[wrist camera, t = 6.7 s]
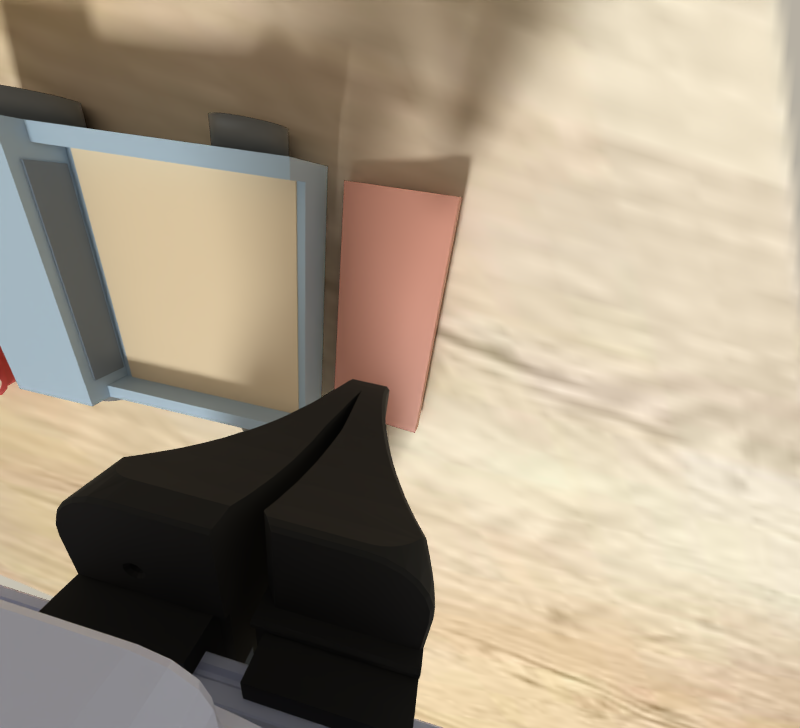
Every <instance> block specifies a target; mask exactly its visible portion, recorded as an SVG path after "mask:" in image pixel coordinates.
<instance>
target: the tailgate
mask: <svg viewBox="0 0 800 728" xmlns="http://www.w3.org/2000/svg"><path fill="white" fill-rule="evenodd" d="M461 200H462V197H456V196H449V195H442V194H435V193H428V192H421V191H414V190H407V189H401V188H394V187H387V186H380V185H373V184H366V183H359V182H352V181H345V180H344V198H343V219H342V240H341V260H340V281H339V302H338V323H337V344H336V365H335V386H334V390H335V389H336V388H338V387H339V386H341V385H343V384H344V383H346V382H348V381H349V380H351V379H355V380H360V381H364V382H369V383H373V384H378V385H383V386H387V387H388V389H389V390H390V391H389V397H388V404H387V411H386V418H385V420H386V424H387V425H391V426H394V427H397V428H400V429H404V430H407V431H410V432H414V433H415V431H416V429H417V427H418V423H419V418H420V413H421V407H422V402H423V397H424V392H425V387H426V382H427V376H428V371H429V366H430V361H431V356H432V350H433V345H434V340H435V335H436V330H437V325H438V319H439V314H440V309H441V304H442V299H443V293H444V288H445V283H446V278H447V273H448V268H449V262H450V257H451V252H452V247H453V242H454V236H455V231H456V226H457V221H458V216H459V211H460V205H461Z"/></svg>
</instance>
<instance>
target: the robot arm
mask: <svg viewBox="0 0 800 728" xmlns="http://www.w3.org/2000/svg"><path fill="white" fill-rule="evenodd" d="M389 391H390V390H389V389H388V387H387V386H383V385H378V384H373V383H369V382H364V381H360V380H355V379H351V380H349V381H348V382H346V383H344V384H343V385H341V386H339V387H338V388H336V389H335V390H333V391H331V392H330V393H328V394H326V395H324V396H323V397H321V398H319V399H318V400H316V401H314V402H312V403H310V404H308V405H306V406H304V407H302V408H300V409H298V410H296V411H294V412H292V413H290V414H288V415H286V416H284V417H282V418H279V419H277V420H275V421H272V422H269V423H267V424H264V425H262V426H259V427H256V428H253V429H250V430H247V431H244V432H241V433H237V434H234V435H231V436H228V437H225V438H221V439H217V440H213V441H209V442H205V443H201V444H197V445H192V446H188V447H183V448H178V449H173V450H167V451H161V452H155V453H149V454H143V455H136V456H129V457H123V458H122V459H120V460H119V461H118V462H116V463H115V464H113V465H112V466H111V467H109V468H108V469H107V470H105V471H104V472H102V473H101V474H100V475H98V476H97V477H96V478H94V479H93V480H92V481H90V482H89V483H87V484H86V485H85V486H83V487H82V488H81V489H79V490H78V491H76V492H75V493H74V494H72V495H71V496H70V497H68V498H67V499H66V500H64V501H63V502H62V503H61V505H60V506H59V508H58V509H57V514H56V526H57V529H58V532H59V535H60V537H61V540H62V542H63V544H64V546H65V548H66V550H67V552H68V554H69V556H70V558H71V560H72V562H73V564H74V566H75V568H76V570H77V572H78V575H77V576H76V577H75V578H73V579H72V580H71V581H70V582H69V583H68V584H67V585H66V586H65V587H64V588H63V589H62V590H61V591H60V592H59V593H58V594H57V595H55V596H54V597H53V598H52V599H51V600H50V601H49V600H46V599H42V598H39V597H36V596H33V595H30V594H27V593H24V592H21V591H18V590H15V589H12V588H9V587H5V586H2V585H0V728H442V727H439V726H436V725H433V724H430V723H427V722H424V721H421V720H418V719H414V715H415V705H416V696H417V687H418V679H419V677H420V673H421V667H422V657H423V647H424V644H425V641H426V639H427V636H428V633H429V630H430V627H431V624H432V621H433V617H434V610H435V592H434V581H433V573H432V567H431V561H430V555H429V550H428V545H427V540H426V537H425V535H424V534H423V532H422V530H421V528H420V526H419V525H418V523H417V521H416V519H415V517H414V515H413V513H412V511H411V509H410V507H409V505H408V502H407V500H406V498H405V496H404V493H403V490H402V488H401V485H400V483H399V480H398V477H397V475H396V471H395V468H394V465H393V461H392V457H391V453H390V449H389V444H388V438H387V432H386V420H385V418H386V411H387V404H388V397H389Z"/></svg>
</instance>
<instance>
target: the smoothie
mask: <svg viewBox="0 0 800 728" xmlns="http://www.w3.org/2000/svg"><path fill="white" fill-rule="evenodd" d="M15 381H16V379H15V377H14V375H13V373H12V371H11V368H10V366H9V364H8V362H7V360H6V357H5V355H4V353H3V351H2V349H1V346H0V395H2V394H3V393H4V392H5V390H6V389H7V386H8V385H10V384H12V383H13V382H15Z"/></svg>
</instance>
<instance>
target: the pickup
mask: <svg viewBox="0 0 800 728" xmlns="http://www.w3.org/2000/svg"><path fill="white" fill-rule="evenodd" d="M208 118H209V127H210V137H211V146H210V145H203V144H196V143H189V142H182V141H174V140H167V139H160V138H153V137H146V136H139V135H132V134H124V133H117V132H110V131H103V130H96V129H89V128H87V127H86V123H85V119H84V115H83V111H82V107H81V103H79V102H76V101H73V100H69V99H66V98H62V97H58V96H54V95H49V94H45V93H40V92H36V91H31V90H26V89H21V88H16V87H10V86H4V85H0V346H1V349H2V351H3V353H4V355H5V357H6V360H7V362H8V364H9V366H10V368H11V371H12V373H13V375H14V377H15V379H16V382H17V384H18V386H19V388H20V389H24V390H28V391H32V392H36V393H40V394H44V395H48V396H52V397H57V398H61V399H65V400H69V401H73V402H77V403H81V404H85V405H89V406H94V405H96V404H98V403H99V402H101V401H117V400H127V401H131V402H135V403H140V404H144V405H148V406H152V407H156V408H161V409H165V410H169V411H173V412H178V413H182V414H186V415H190V416H194V417H199V418H203V419H207V420H211V421H215V422H220V423H224V424H228V425H232V426H236V427H241V428H242V430H243V431H247V430H250V429H253V428H256V427H259V426H262V425H264V424H267V423H269V422H272V421H275V420H277V419H279V418H282V417H284V416H286V415H288V414H290V413H292V412H294V411H296V410H298V409H300V408H302V407H304V406H306V405H308V404H310V403H312V402H314V401H316V400H318V399H319V398H321V392H322V356H323V320H324V283H325V247H326V211H327V174H328V166H324V165H320V164H316V163H312V162H308V161H304V160H301V159H297V158H293V157H289V144H288V129H287V128H286V127H283V126H281V125H278V124H274V123H271V122H267V121H263V120H259V119H254V118H249V117H244V116H239V115H232V114H225V113H208Z"/></svg>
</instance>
